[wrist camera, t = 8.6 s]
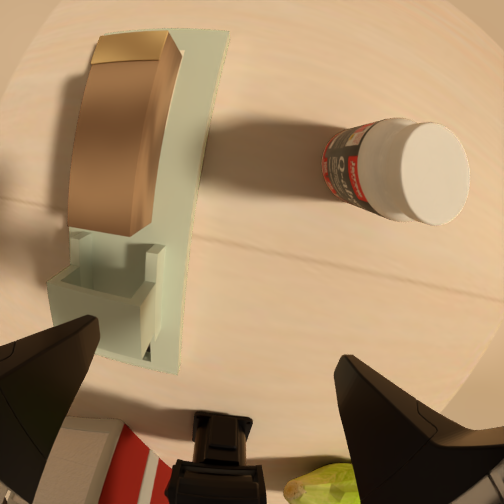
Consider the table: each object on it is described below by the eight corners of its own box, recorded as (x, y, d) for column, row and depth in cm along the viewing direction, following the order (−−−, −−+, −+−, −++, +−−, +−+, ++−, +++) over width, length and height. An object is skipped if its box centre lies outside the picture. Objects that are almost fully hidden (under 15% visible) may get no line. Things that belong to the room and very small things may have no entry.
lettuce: (325, 435, 28) (345, 507, 17) (396, 456, 33) (415, 501, 22) (259, 471, 31) (263, 533, 20) (342, 486, 36) (354, 529, 25)
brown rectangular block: (151, 222, 18) (128, 238, 14) (97, 214, 17) (65, 227, 13) (182, 56, 14) (167, 30, 10) (124, 57, 14) (100, 36, 10)
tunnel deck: (180, 364, 23) (166, 419, 17) (87, 341, 23) (57, 383, 16) (230, 39, 15) (226, -9, 9) (111, 40, 14) (72, 7, 8)
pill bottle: (303, 165, 19) (361, 165, 9) (352, 115, 17) (432, 85, 8) (354, 219, 20) (432, 261, 10) (398, 169, 19) (489, 181, 9)
